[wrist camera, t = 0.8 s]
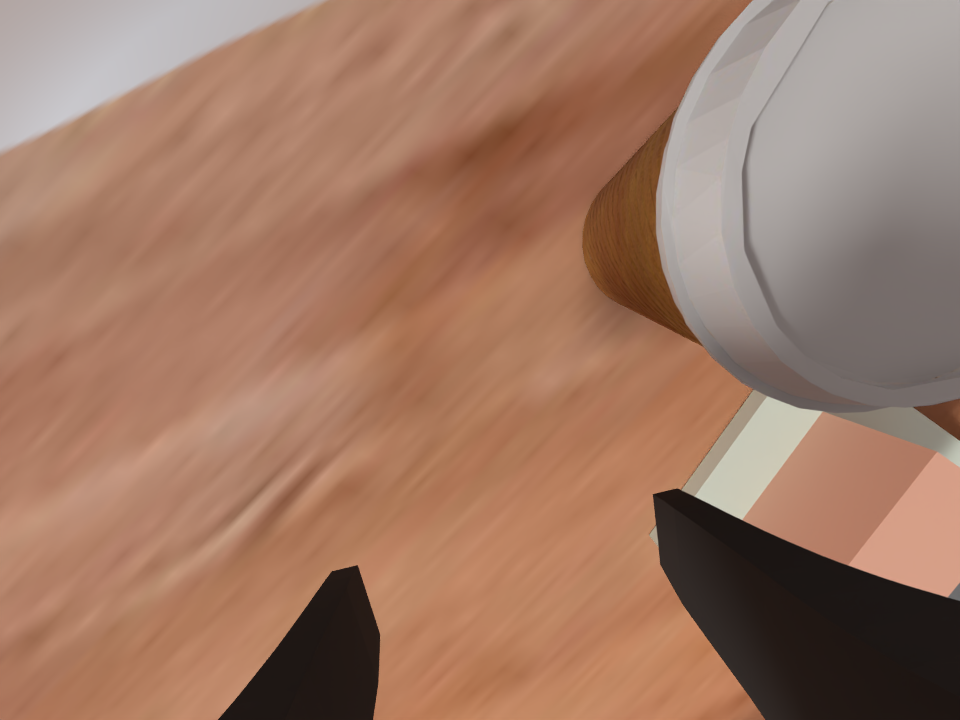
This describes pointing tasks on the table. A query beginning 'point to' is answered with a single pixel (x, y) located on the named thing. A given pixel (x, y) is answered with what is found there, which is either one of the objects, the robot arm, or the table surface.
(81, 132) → the table surface
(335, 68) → the table surface
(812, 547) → the terracotta brick
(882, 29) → the disposable coffee cup
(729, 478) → the baseplate
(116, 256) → the table surface
